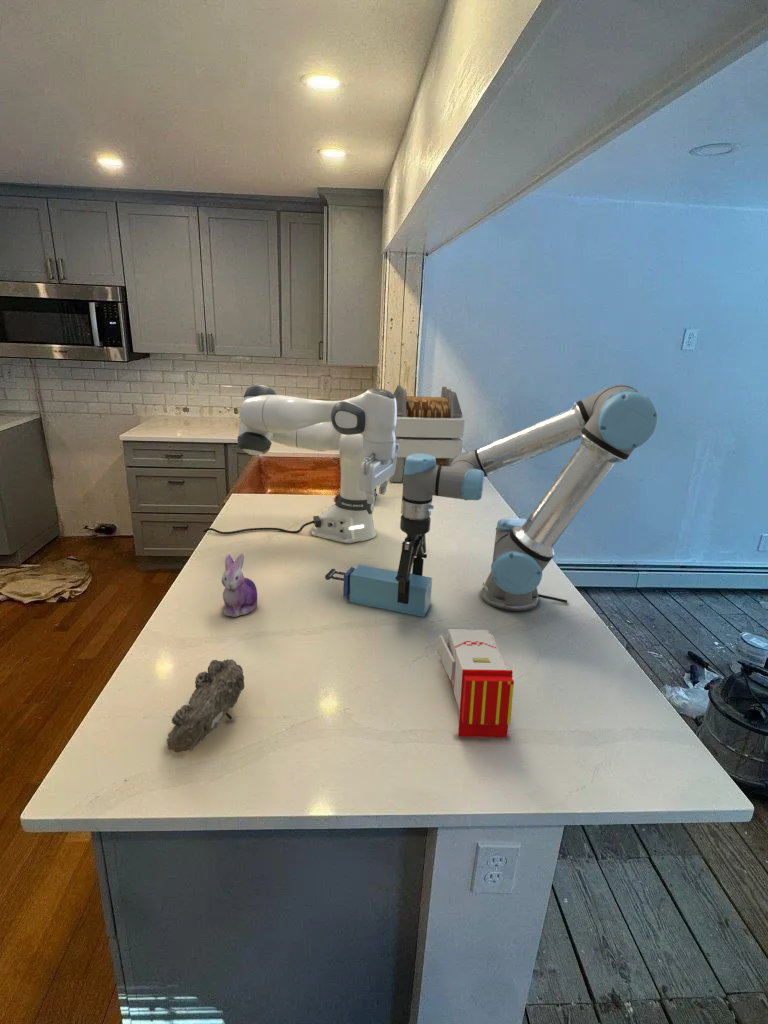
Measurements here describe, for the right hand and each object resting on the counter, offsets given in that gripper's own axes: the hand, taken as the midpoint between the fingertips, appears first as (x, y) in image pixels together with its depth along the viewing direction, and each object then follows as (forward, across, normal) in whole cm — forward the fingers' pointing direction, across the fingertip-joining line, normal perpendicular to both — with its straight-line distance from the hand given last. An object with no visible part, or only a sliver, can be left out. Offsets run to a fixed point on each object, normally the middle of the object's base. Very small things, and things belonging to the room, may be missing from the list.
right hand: (410, 591), depth 149 cm
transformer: (+5, +128, +31) cm, 132 cm away
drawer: (+4, 0, +11) cm, 12 cm away
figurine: (+5, -18, +40) cm, 44 cm away
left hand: (-20, +13, +15) cm, 28 cm away
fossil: (+5, -55, +23) cm, 60 cm away
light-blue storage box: (+5, 0, +5) cm, 7 cm away
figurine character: (+5, +80, +40) cm, 90 cm away
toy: (+5, -29, -22) cm, 37 cm away
